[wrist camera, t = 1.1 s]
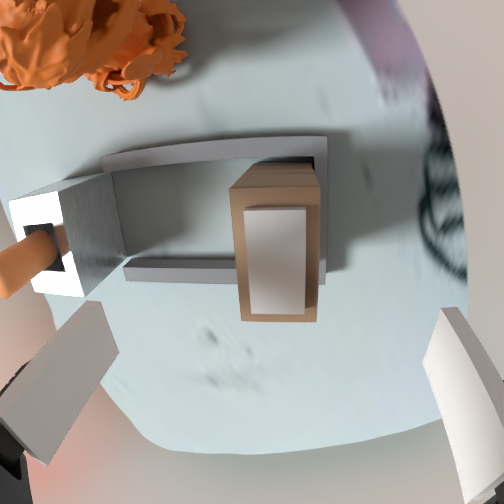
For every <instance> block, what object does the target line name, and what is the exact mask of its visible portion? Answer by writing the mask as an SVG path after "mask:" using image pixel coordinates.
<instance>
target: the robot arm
mask: <svg viewBox="0 0 504 504" xmlns="http://www.w3.org/2000/svg"><path fill="white" fill-rule="evenodd" d="M118 354H119V350H118V348H117V345H116V343H115V340H114V338H113V335H112V332H111V330H110V327H109V324H108V321H107V319H106V316H105V313H104V310H103V307H102V304H101V302H98V301H88V300H87V301H86V302H85V303H84V304H83V305H82V306H81V307H80V308H79V309H78V310H77V311H76V312H75V313H74V314H73V315H72V316H71V317H70V318H69V319H68V321H67V322H66V323H65V324H64V325H63V326H62V327H61V328H60V329H59V330H58V331H57V332H56V333H55V334H54V335H53V337H52V338H51V339H50V340H49V341H48V342H47V343H46V344H45V345H44V346H43V347H42V349H41V350H40V351H39V352H38V353H37V354H36V355H35V356H34V357H33V359H32V360H30V361H29V362H27V363H26V364H24V365H23V366H22V367H21V368H20V369H19V370H18V371H17V372H16V373H15V376H14V377H12V378H11V379H10V381H9V384H6V385H5V387H4V388H3V389H2V390H1V391H0V504H33V501H32V496H31V490H30V485H29V478H28V470H27V461H26V458H25V455H24V454H23V452H24V450H26V451H27V452H28V453H29V454H30V455H31V456H32V457H33V458H34V459H36V460H37V461H39V462H41V463H42V464H44V465H46V466H48V465H49V463H50V462H51V460H52V458H53V456H54V455H55V453H56V451H57V449H58V448H59V446H60V445H61V443H62V441H63V440H64V438H65V436H66V434H67V433H68V431H69V430H70V428H71V426H72V425H73V423H74V422H75V420H76V418H77V417H78V415H79V413H80V412H81V410H82V409H83V407H84V406H85V404H86V402H87V401H88V399H89V398H90V396H91V395H92V393H93V392H94V390H95V388H96V387H97V385H98V384H99V382H100V381H101V379H102V378H103V376H104V375H105V373H106V372H107V370H108V369H109V367H110V366H111V364H112V363H113V361H114V360H115V358H116V357H117V355H118ZM422 364H423V366H424V369H425V371H426V374H427V376H428V379H429V382H430V384H431V387H432V390H433V393H434V396H435V398H436V401H437V404H438V407H439V410H440V413H441V416H442V419H443V422H444V425H445V428H446V431H447V435H448V438H449V442H450V445H451V448H452V452H453V456H454V460H455V463H456V467H457V471H458V475H459V479H460V483H461V488H462V492H463V498H464V502H465V504H467V503H470V502H473V501H475V500H478V499H480V498H483V497H485V496H486V495H487V494H489V493H490V492H491V491H492V490H494V489H495V492H496V495H494V496H493V497H492V498H490V499H489V500H488V501H486V502H485V503H484V504H504V380H502V378H501V377H500V375H499V373H498V371H497V370H496V368H495V366H494V364H493V362H492V361H491V359H490V357H489V356H488V354H487V352H486V351H485V349H484V347H483V346H482V344H481V342H480V341H479V339H478V338H477V336H476V335H475V333H474V331H473V330H472V329H471V327H470V325H469V324H468V322H467V321H466V319H465V318H464V316H463V315H462V313H461V312H460V310H459V309H458V308H457V307H450V308H441V309H440V312H439V316H438V319H437V322H436V325H435V328H434V332H433V335H432V338H431V340H430V343H429V346H428V349H427V352H426V355H425V357H424V360H423V363H422Z"/></svg>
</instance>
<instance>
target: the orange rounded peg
mask: <svg viewBox="0 0 504 504" xmlns="http://www.w3.org/2000/svg"><path fill="white" fill-rule="evenodd" d="M56 258H57V250H56V246H55V243H54V241H53V239H52V238H51V236H50V235H49V234H48V233H47V232H45V231H43V230H37V231H35V232H33V233H32V234H30V235H28V236H27V237H25V238H23V239H21V240H20V241H18V242H16V243H15V244H13V245H12V246H10V247H8V248H7V249H5V250H4V251H2V252H1V253H0V297H1V298H3V299H8V298H9V297H10V296H12V295H13V294H14V293H15V292H16V291H18V290H19V289H20V288H22V287H23V286H24V285H25V284H27V283H28V282H29V281H30V280H32V279H33V278H34V277H36V276H37V275H38V274H40V273H41V272H42V271H43V270H45V269H46V268H47V267H49V266H50V265H51V264H53V263H54V262H55V260H56Z"/></svg>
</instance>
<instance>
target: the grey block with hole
mask: <svg viewBox="0 0 504 504" xmlns="http://www.w3.org/2000/svg"><path fill="white" fill-rule="evenodd" d="M9 205H10V209H11V214H12V218H13V222H14V226H15V230H16V234H17V237H18V241H20V240H21V239H23V238H25V237H27V236H28V235H30V234H32V233H33V232H35V231H37V230H43V231H45V232H47V233H48V234H49V235H50V236H51V238H52V239H53V241H54V243H55V246H56V250H57V258H56V260H55V262H54V263H53V264H51V265H50V266H49V267H47V268H46V269H45V270H43V271H42V272H41V273H40V274H38V275H37V276H36V277H34V278H33V279H32V280H31V281H32V284H33V287H34V290H35V292H42V293H50V294H58V295H67V296H76V297H86V296H87V295H88V294H89V293H90V292H91V291H92V290H93V289H94V288H95V287H96V286H97V285H98V284H99V283H100V282H101V281H103V280H104V279H105V278H106V277H107V276H108V275H109V274H110V273H111V272H112V271H113V270H114V269H115V268H116V267H117V266H119V265H120V264H121V263H122V262H123V261H124V260H125V259H126V258H127V253H126V249H125V244H124V240H123V235H122V230H121V226H120V220H119V215H118V210H117V204H116V199H115V193H114V187H113V180H112V174H111V172H108V173H98V174H92V175H87V176H81V177H76V178H71V179H66V180H61V181H58V182H56V183H53V184H51V185H48V186H45V187H43V188H40V189H38V190H35V191H33V192H30V193H28V194H26V195H23V196H21V197H19V198H16V199H14V200H12V201H10V202H9Z"/></svg>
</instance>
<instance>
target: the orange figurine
mask: <svg viewBox="0 0 504 504" xmlns="http://www.w3.org/2000/svg"><path fill="white" fill-rule="evenodd" d="M186 20H187V18H186V17H185V16H184V15H183V14H182V12H180V11H179V9H178V8H177V5H176V3H170V1H169V0H0V72H1V73H2V74H3V76H4V78H5V79H6V80H7V81H8V82H10V83H13V84H15V85H4V84H2V83H1V82H0V89H1V90H6V91H24V90H33V89H36V88H37V89H39V88H46V89H47V90H49V89H51V87H53V86H54V87H55V86H57V85H60V84H62V83H71V82H74V81H75V80H77V79H78V78H79V77H80V76H82V75H83V74H84V75H85V76H86V77H87V79H88V80H90V81H93V82H94V88H95V89H97V90H99V91H104V92H114V93H116V94H117V95H118V96H119V97H120V99H121V98H123V99H124V101H125V100H134V99H136V98H137V97H138V96H139V95H140V94H141V92H142V91H143V89H144V86H145V82H146V78H147V77H150V76H151V74H155V75H162V74H167V76H168V77H169V75H172V74H174V73H175V72H176V70H174V71H173V72H172V68H173V67H174V63H181V60H182V58H183V57H185V56H187V55H188V53H187V52H186V51H183V50H182V51H180V50H175V49H174V48H176V46H177V45H178V44H179V43H180V42H184V41H185V40H186V39H185V37H183V36H181V33H182V32H183V30H184V21H186ZM173 21H174V22H175V23H176V24H177V28H176V30H175V31H174V24H173ZM132 82H134V84H131V85H133V88H132V90H131V91H128V90H126V89H125V88H124V87H123V86H122V85H123V84H128V83H132ZM20 84H21V85H20ZM108 84H109V85H110V84H112V86H113V89H110V88H107V87H106V86H107V85H108ZM105 85H106V86H105Z"/></svg>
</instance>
